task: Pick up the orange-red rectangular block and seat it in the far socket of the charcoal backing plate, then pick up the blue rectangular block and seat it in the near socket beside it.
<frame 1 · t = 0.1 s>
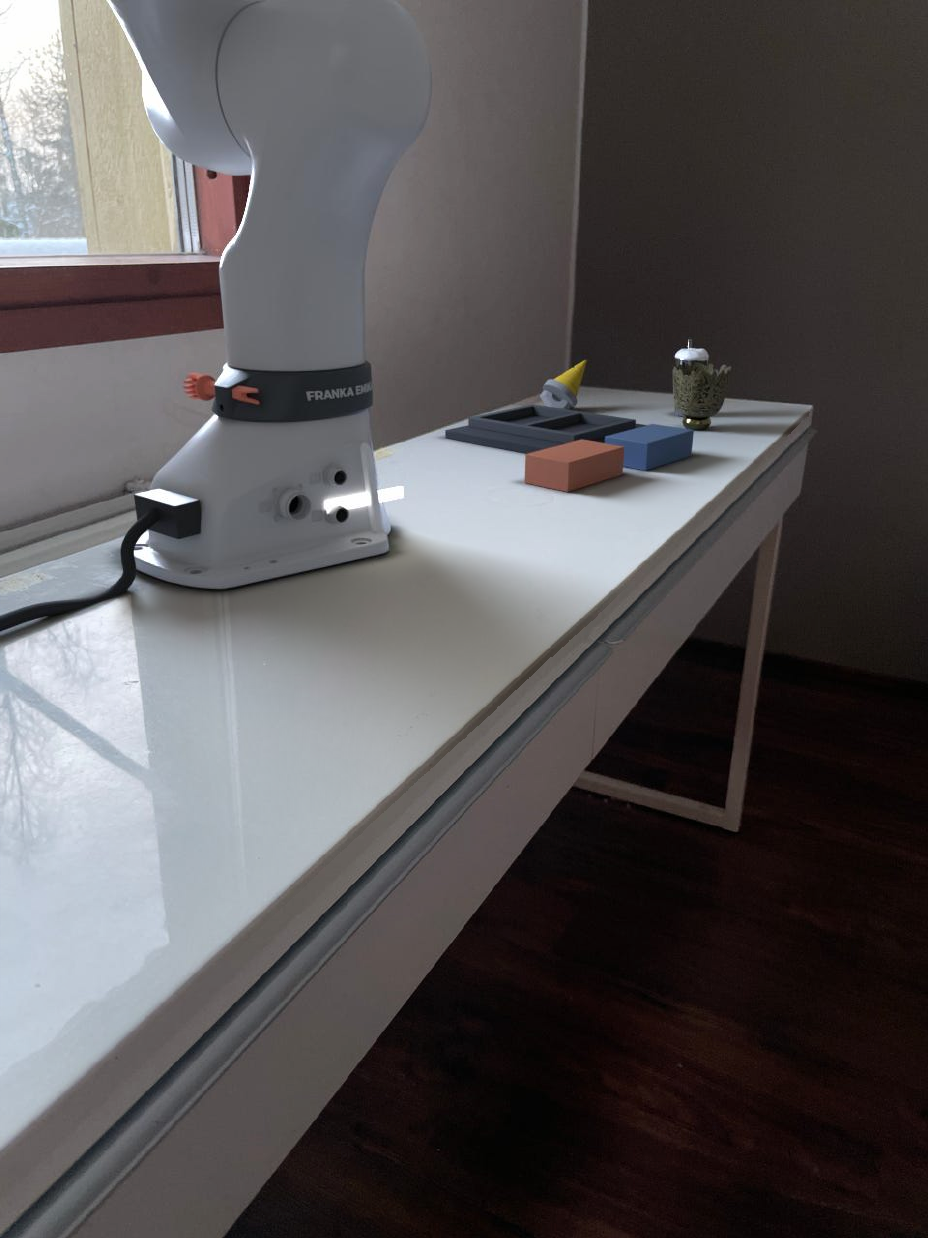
blue rectangular block: (648, 459, 108), on the table
orange-red rectangular block: (574, 478, 100), on the table
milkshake: (685, 415, 134), on the table
backing plate: (551, 435, 120), on the table
cup: (695, 429, 125), on the table
yellow cone tip: (562, 411, 137), on the table
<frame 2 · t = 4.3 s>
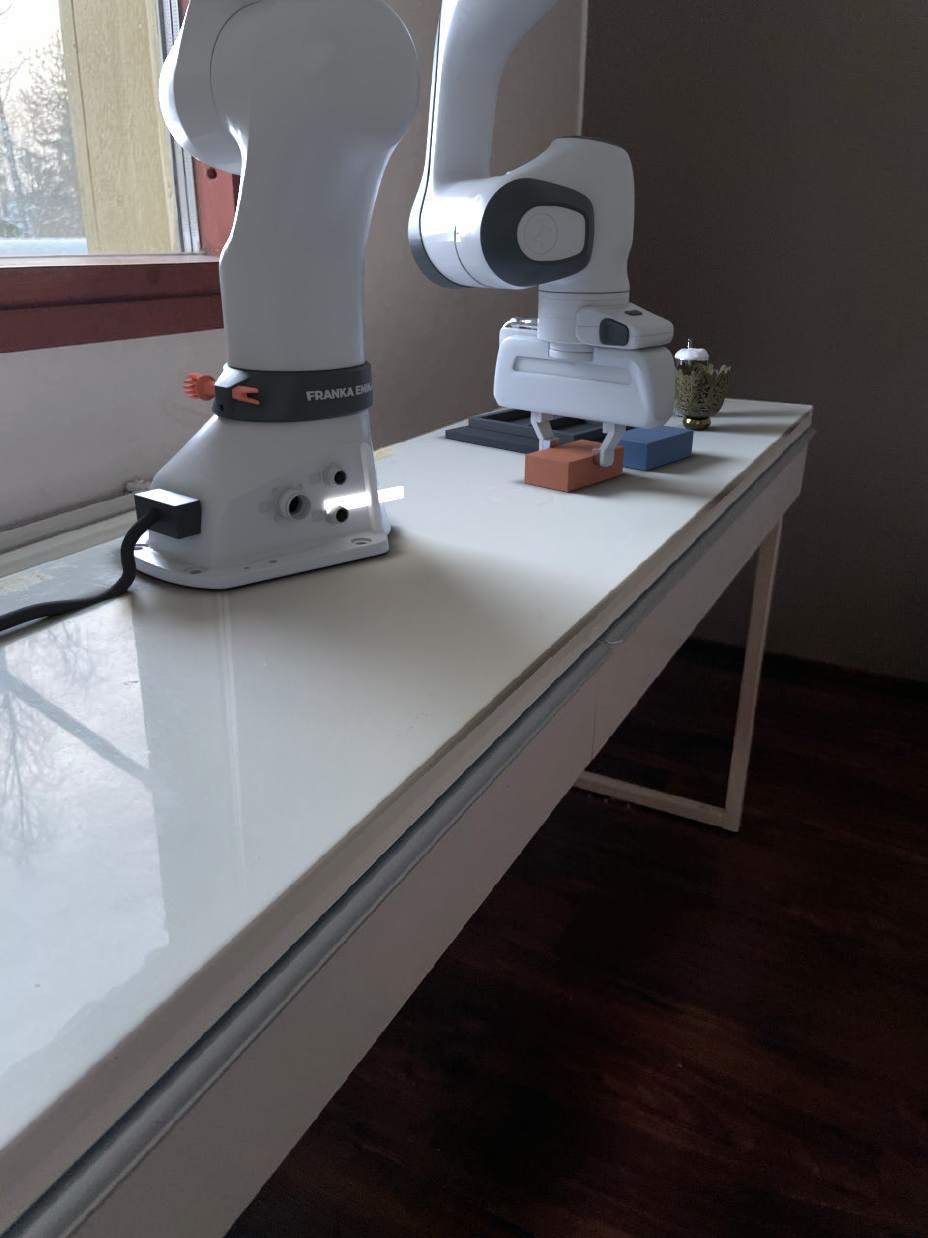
hand: (575, 460, 99), 2 cm above the table, tool pointing down, fingers closed on orange-red rectangular block, 5 cm apart
orange-red rectangular block: (574, 478, 100), on the table, touching gripper
everything else where it was.
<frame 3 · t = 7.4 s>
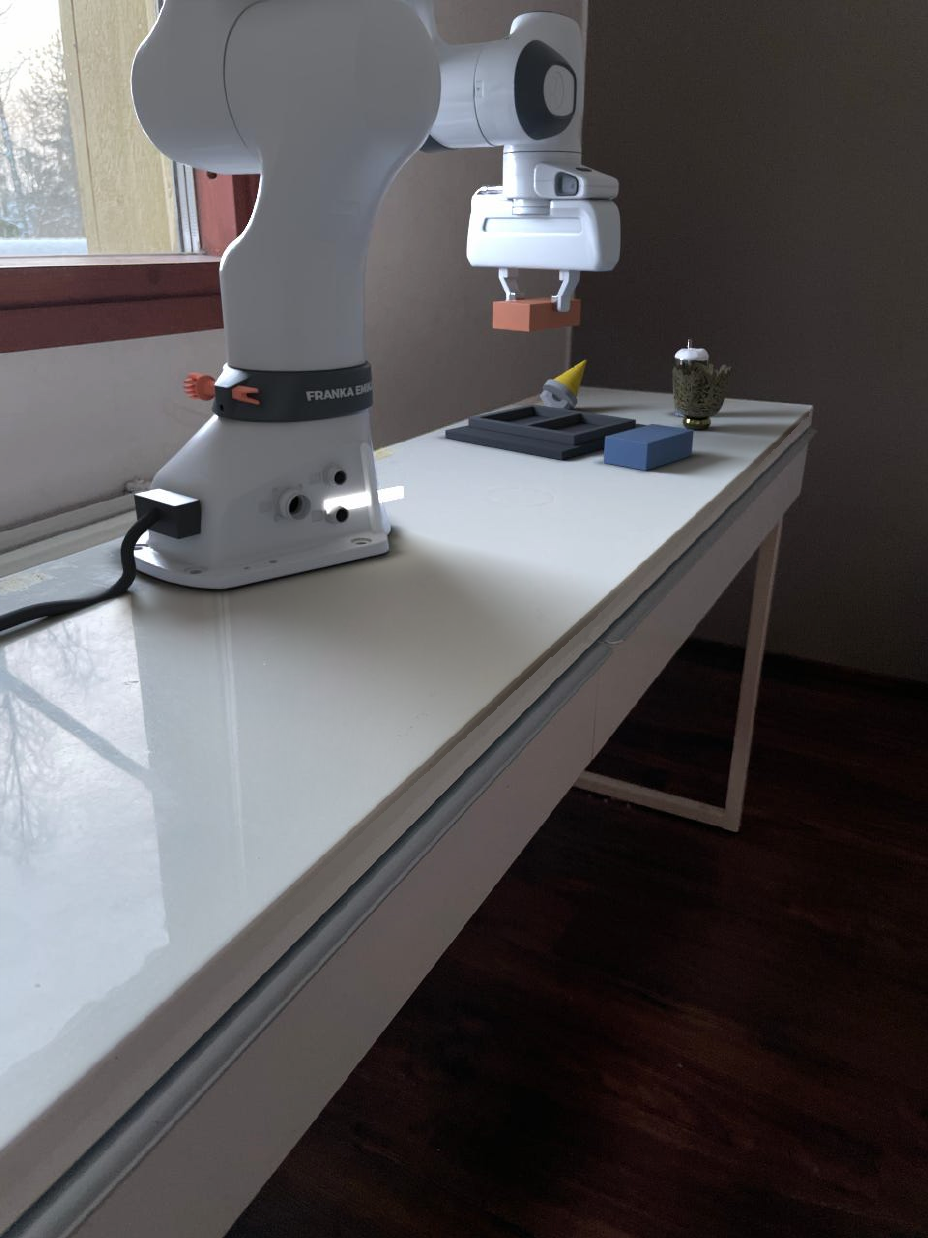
hand: (537, 309, 114), 15 cm above the table, tool pointing down, fingers closed on orange-red rectangular block, 5 cm apart
orange-red rectangular block: (536, 326, 114), point 13 cm above the table, touching gripper
everything else where it was.
when the fingers open (3 cm above the table, at t = 10.9 s): orange-red rectangular block stays where it is, resting on backing plate.
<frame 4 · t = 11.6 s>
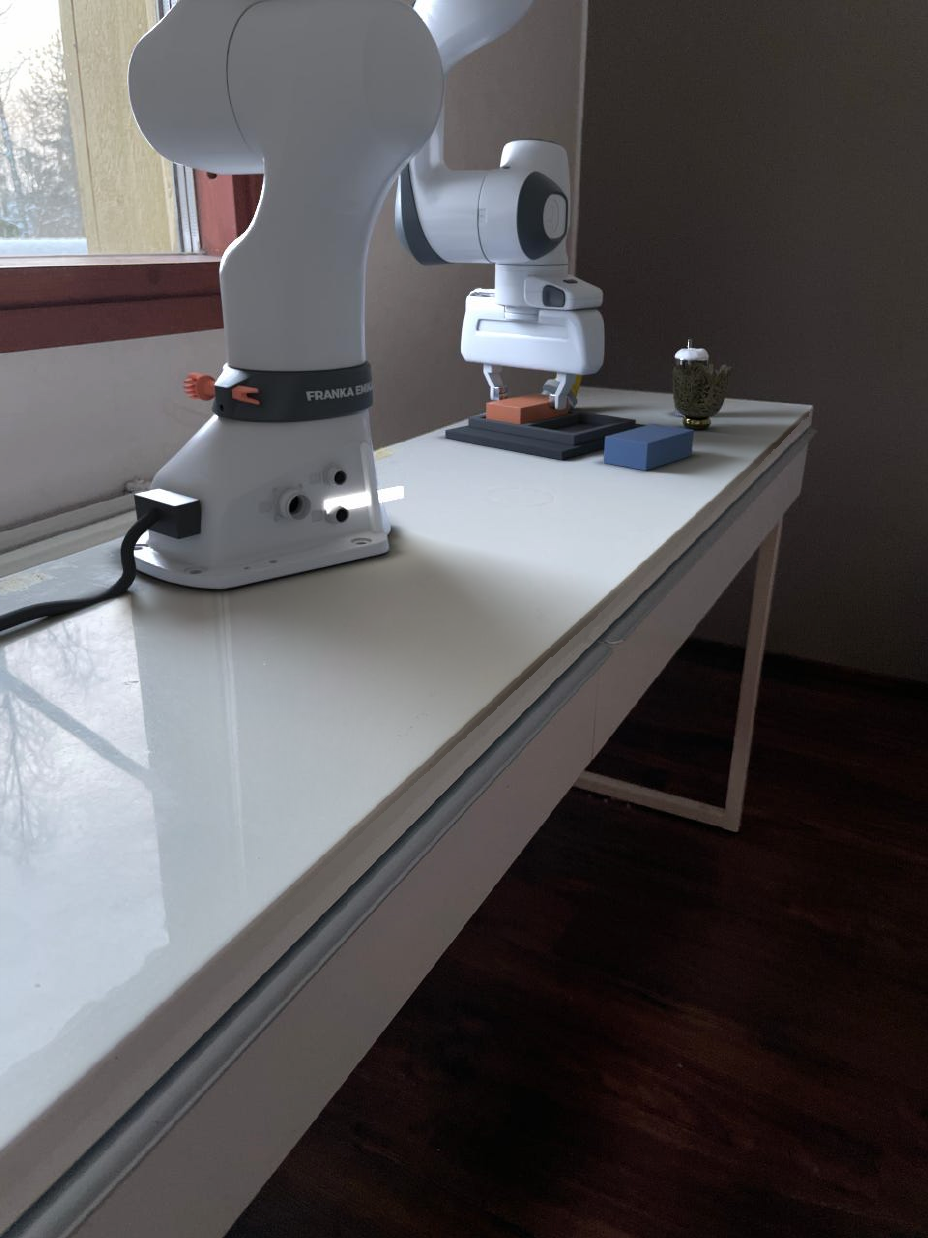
hand: (527, 404, 121), 4 cm above the table, tool pointing down, fingers open, 8 cm apart
orange-red rectangular block: (527, 423, 122), point 1 cm above the table, touching backing plate
everything else where it was.
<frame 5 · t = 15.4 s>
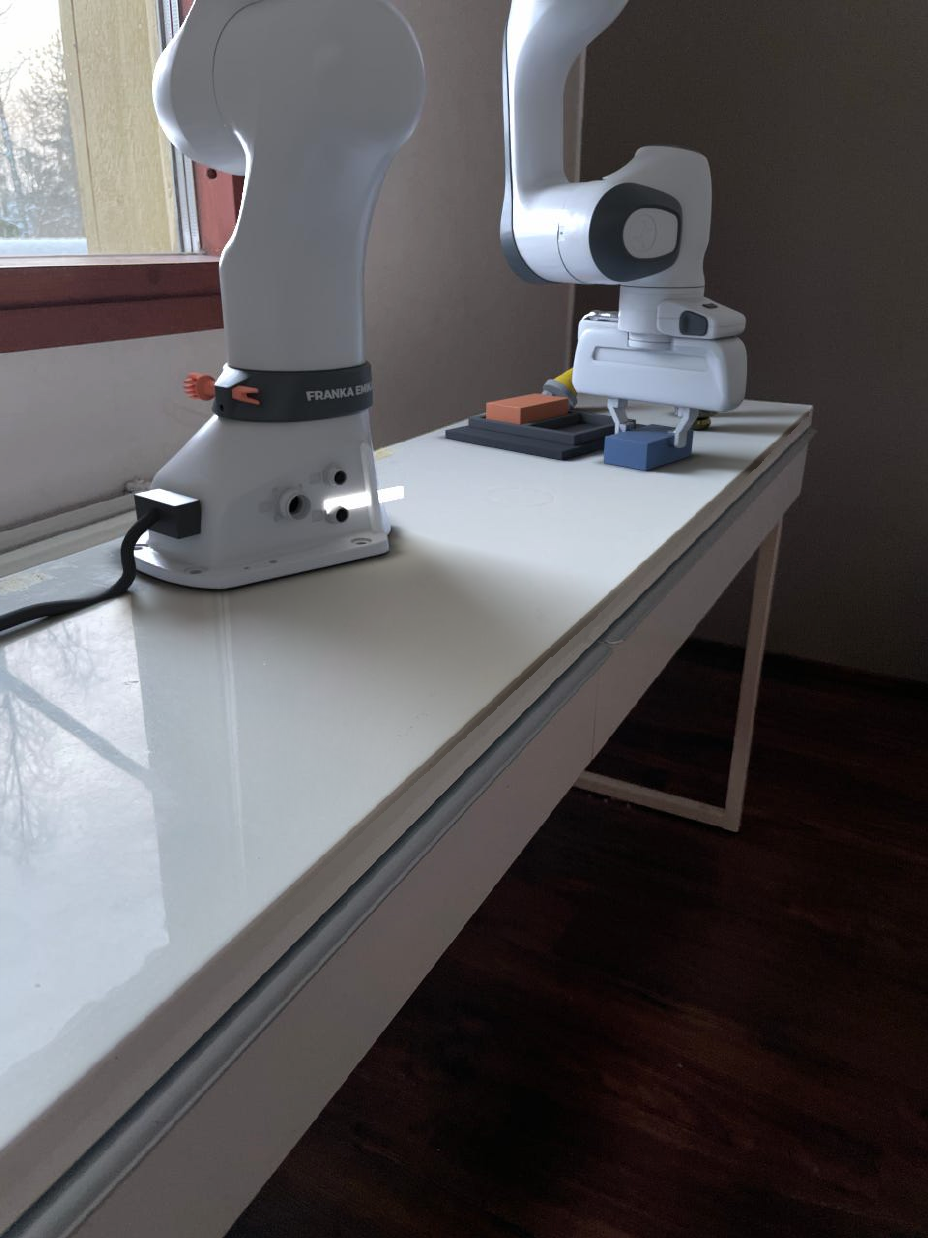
hand: (649, 442, 107), 2 cm above the table, tool pointing down, fingers closed on blue rectangular block, 5 cm apart
blue rectangular block: (648, 459, 108), on the table, touching gripper
everything else where it was.
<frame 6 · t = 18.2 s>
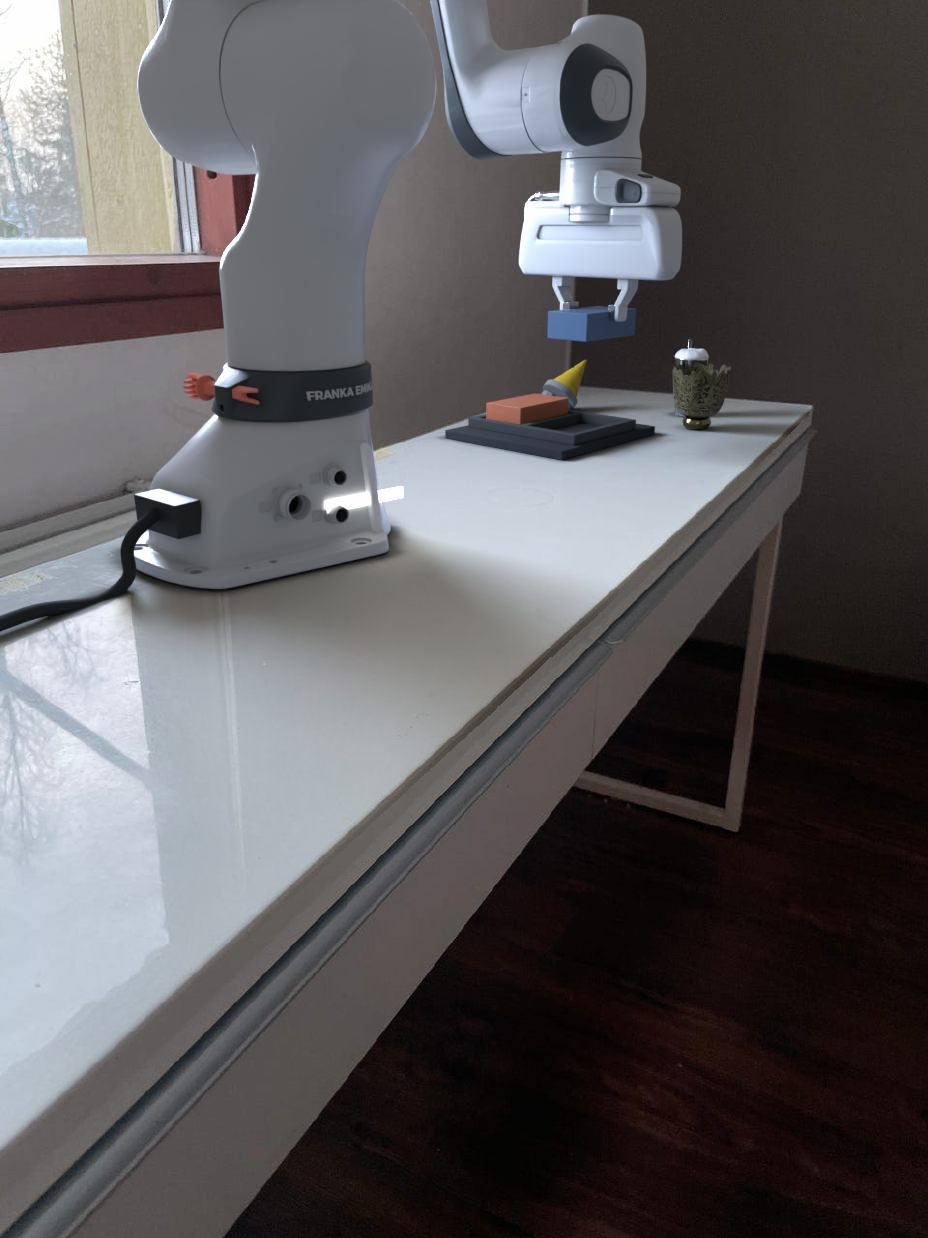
hand: (592, 319, 111), 14 cm above the table, tool pointing down, fingers closed on blue rectangular block, 5 cm apart
blue rectangular block: (591, 336, 112), point 13 cm above the table, touching gripper
everything else where it was.
when the fingers open (3 cm above the table, at t = 21.4 s): blue rectangular block stays where it is, resting on backing plate.
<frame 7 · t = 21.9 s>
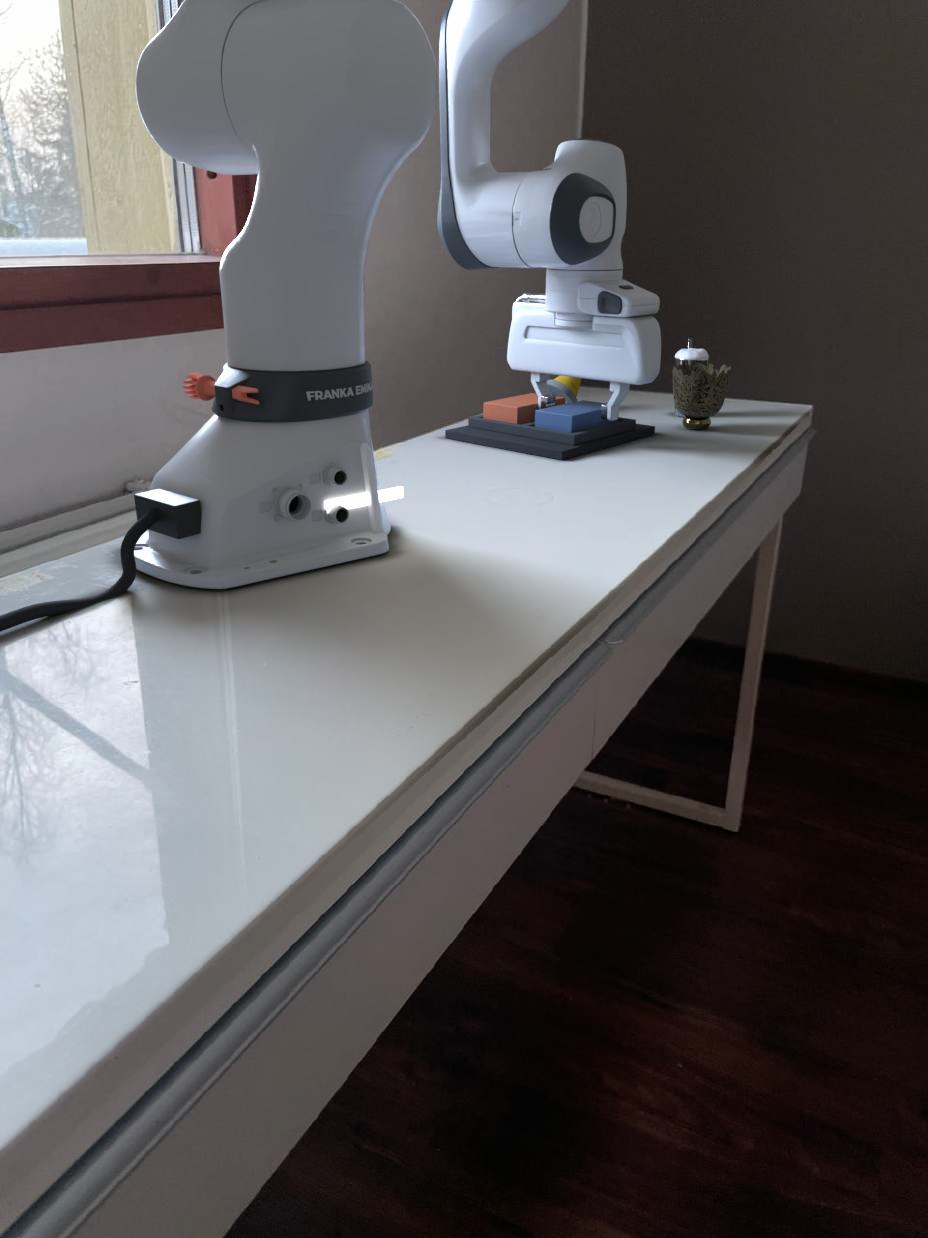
hand: (577, 414, 117), 3 cm above the table, tool pointing down, fingers open, 8 cm apart
blue rectangular block: (576, 431, 117), point 1 cm above the table, touching backing plate
orange-red rectangular block: (524, 423, 122), point 1 cm above the table, touching backing plate, gripper
everything else where it was.
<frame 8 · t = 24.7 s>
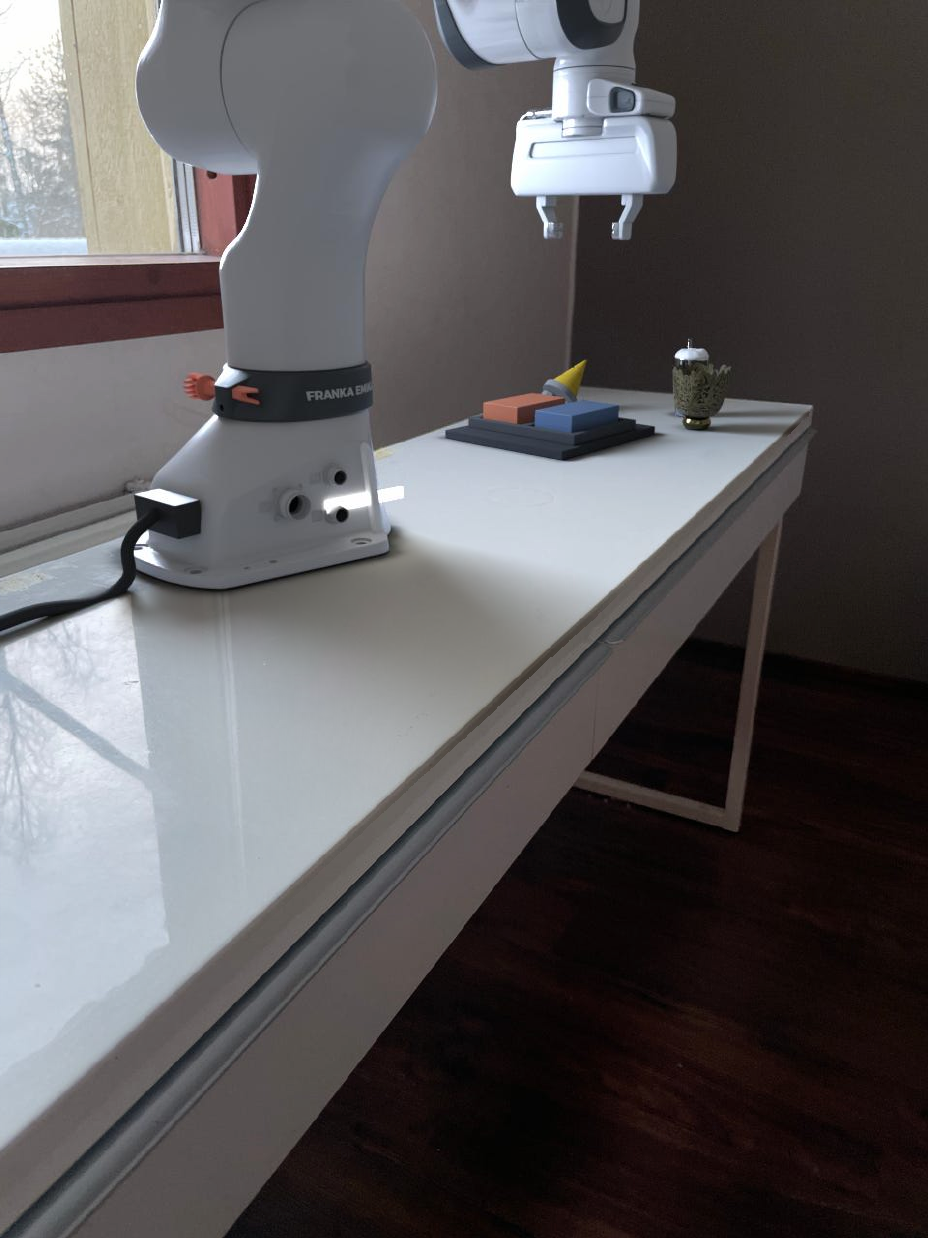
hand: (586, 239, 109), 23 cm above the table, tool pointing down, fingers open, 8 cm apart
orange-red rectangular block: (524, 423, 122), point 1 cm above the table, touching backing plate
everything else where it was.
at the end: orange-red rectangular block 0.6 cm from the target spot on the backing plate, point 1.0 cm above the backing plate's base; blue rectangular block 0.1 cm from the target spot on the backing plate, point 1.0 cm above the backing plate's base; blue rectangular block tilted 0° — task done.
